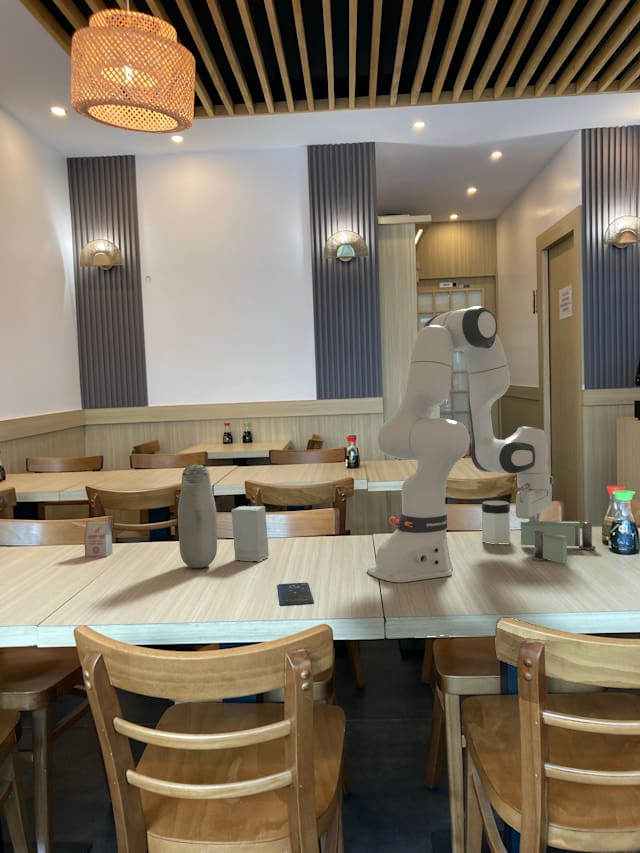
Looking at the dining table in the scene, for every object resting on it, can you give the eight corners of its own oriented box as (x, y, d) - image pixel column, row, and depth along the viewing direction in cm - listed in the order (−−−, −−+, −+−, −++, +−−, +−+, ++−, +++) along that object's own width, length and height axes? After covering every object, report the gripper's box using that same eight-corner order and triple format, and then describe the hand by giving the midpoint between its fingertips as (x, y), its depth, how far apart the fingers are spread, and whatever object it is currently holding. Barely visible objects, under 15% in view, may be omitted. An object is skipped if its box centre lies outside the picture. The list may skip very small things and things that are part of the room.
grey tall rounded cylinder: (175, 565, 170) (172, 464, 168) (211, 560, 174) (208, 461, 173) (185, 574, 161) (181, 467, 160) (223, 568, 166) (219, 464, 164)
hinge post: (589, 551, 173) (588, 524, 173) (575, 548, 177) (575, 522, 176) (598, 548, 175) (598, 522, 175) (585, 545, 179) (584, 520, 179)
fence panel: (563, 563, 158) (562, 537, 158) (542, 558, 164) (542, 533, 164) (567, 562, 159) (566, 536, 159) (546, 557, 165) (546, 532, 165)
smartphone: (279, 604, 134) (277, 583, 149) (279, 607, 134) (277, 587, 149) (314, 601, 135) (308, 582, 150) (314, 605, 135) (308, 585, 150)
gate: (521, 545, 179) (521, 522, 178) (520, 543, 180) (520, 521, 180) (580, 546, 175) (580, 522, 175) (578, 544, 177) (578, 521, 177)
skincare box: (269, 557, 176) (267, 506, 175) (258, 563, 170) (257, 509, 169) (243, 555, 179) (241, 504, 178) (232, 560, 173) (230, 508, 173)
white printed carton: (91, 553, 186) (90, 521, 186) (112, 554, 185) (111, 521, 185) (85, 557, 183) (83, 523, 182) (106, 557, 182) (105, 523, 181)
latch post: (542, 562, 162) (541, 534, 162) (527, 559, 166) (527, 531, 166) (555, 559, 165) (555, 531, 165) (541, 555, 169) (541, 528, 169)
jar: (483, 538, 192) (483, 499, 192) (511, 539, 190) (510, 500, 189) (481, 544, 184) (480, 504, 183) (509, 546, 181) (508, 505, 181)
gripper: (531, 487, 170) (532, 536, 171) (555, 476, 186) (556, 522, 187) (508, 486, 174) (510, 534, 175) (534, 476, 190) (536, 520, 191)
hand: (534, 528), depth 181 cm, fingers closed
